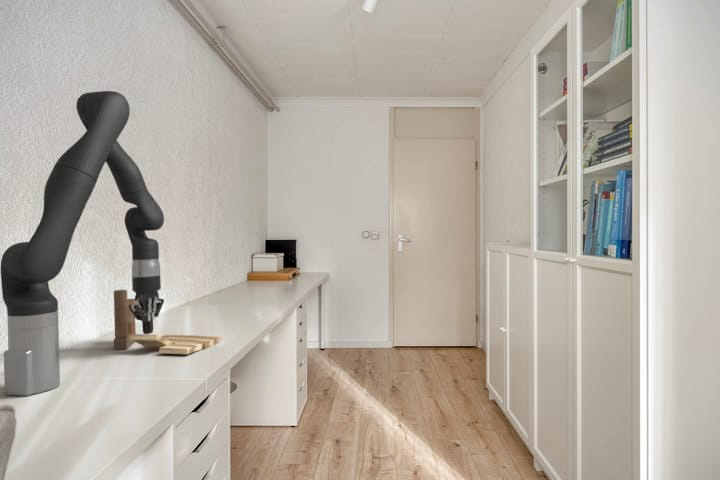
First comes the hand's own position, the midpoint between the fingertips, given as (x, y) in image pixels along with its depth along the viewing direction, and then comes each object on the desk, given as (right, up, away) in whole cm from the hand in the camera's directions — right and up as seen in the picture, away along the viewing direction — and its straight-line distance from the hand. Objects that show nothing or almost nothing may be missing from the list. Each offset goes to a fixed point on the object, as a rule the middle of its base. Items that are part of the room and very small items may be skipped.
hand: (148, 333), depth 130 cm
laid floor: (+7, -6, +9) cm, 13 cm away
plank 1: (0, -3, +1) cm, 3 cm away
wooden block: (-11, -6, +9) cm, 16 cm away
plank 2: (+10, -5, -1) cm, 11 cm away
